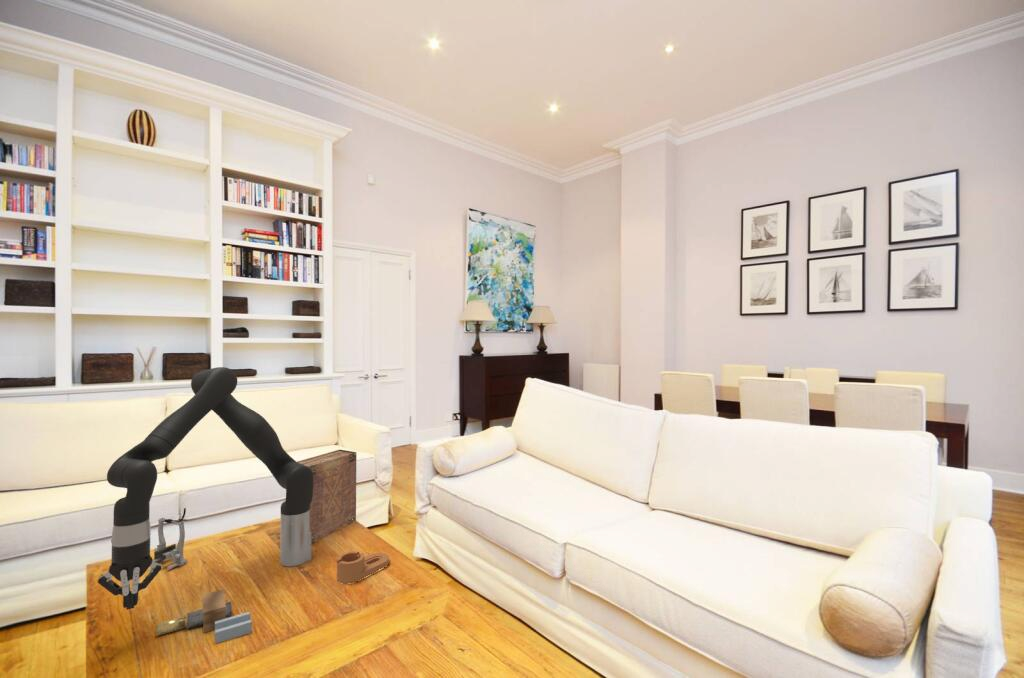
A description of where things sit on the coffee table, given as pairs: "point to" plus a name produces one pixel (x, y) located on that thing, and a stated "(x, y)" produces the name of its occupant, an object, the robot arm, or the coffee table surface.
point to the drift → (170, 625)
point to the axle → (197, 616)
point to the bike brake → (171, 551)
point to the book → (332, 492)
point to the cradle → (232, 627)
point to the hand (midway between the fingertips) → (130, 607)
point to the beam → (213, 609)
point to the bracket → (359, 565)
